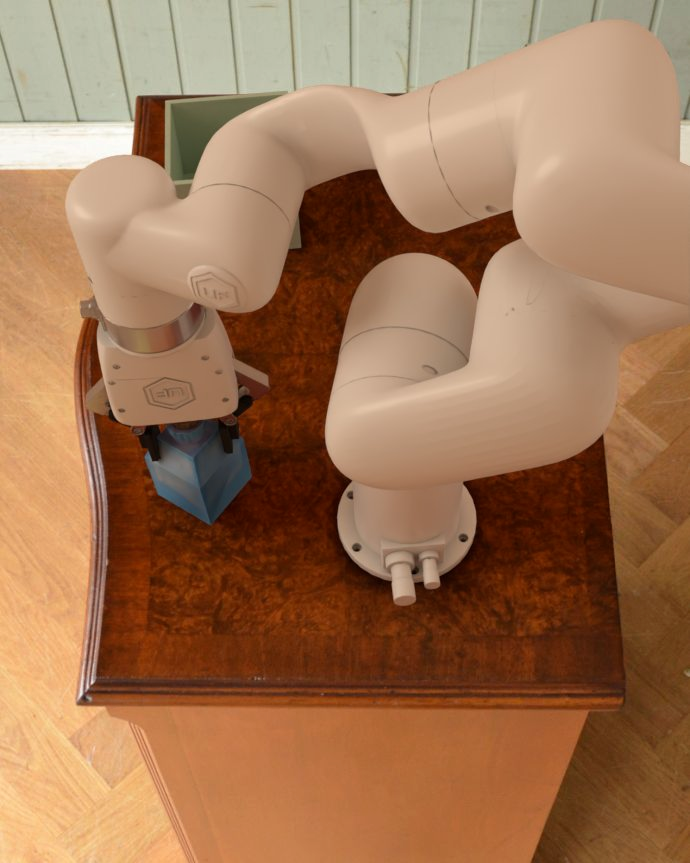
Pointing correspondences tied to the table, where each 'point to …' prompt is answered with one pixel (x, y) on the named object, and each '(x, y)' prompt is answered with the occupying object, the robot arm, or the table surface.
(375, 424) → the robot arm
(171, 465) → the perfume bottle
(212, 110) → the waste bin
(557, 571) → the table surface
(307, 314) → the table surface
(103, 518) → the table surface
